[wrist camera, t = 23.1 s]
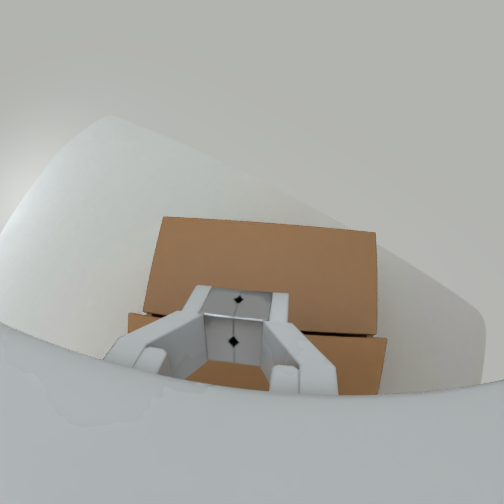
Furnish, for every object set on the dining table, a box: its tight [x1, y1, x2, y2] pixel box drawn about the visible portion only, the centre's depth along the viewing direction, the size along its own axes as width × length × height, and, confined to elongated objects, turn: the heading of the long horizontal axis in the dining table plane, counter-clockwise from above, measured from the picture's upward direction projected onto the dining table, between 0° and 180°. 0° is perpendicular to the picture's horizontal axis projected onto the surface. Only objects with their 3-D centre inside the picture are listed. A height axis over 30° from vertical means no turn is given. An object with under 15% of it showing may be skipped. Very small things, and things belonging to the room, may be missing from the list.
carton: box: [143, 217, 377, 338], centre depth 24 cm, size 16×15×11 cm
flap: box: [128, 313, 387, 395], centre depth 16 cm, size 16×7×1 cm, turn 84°
